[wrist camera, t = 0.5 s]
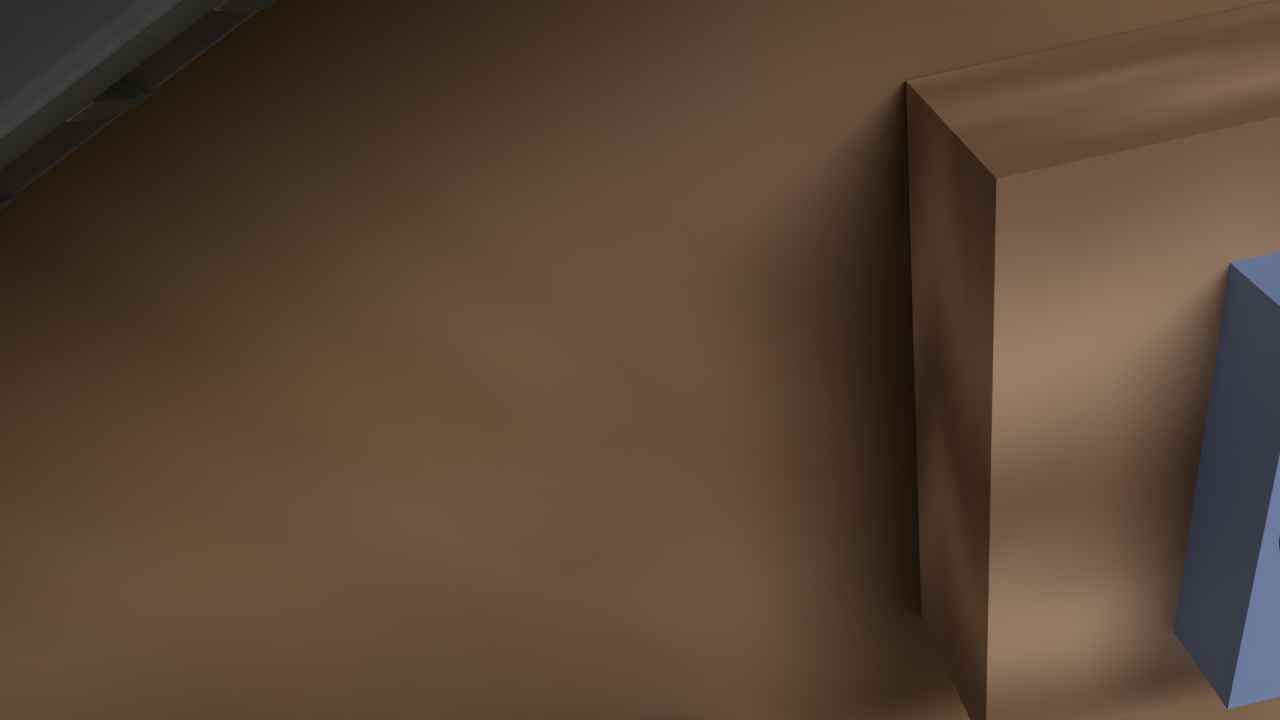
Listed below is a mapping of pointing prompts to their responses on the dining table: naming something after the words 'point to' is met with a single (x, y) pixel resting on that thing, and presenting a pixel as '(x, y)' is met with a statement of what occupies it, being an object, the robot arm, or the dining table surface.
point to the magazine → (91, 69)
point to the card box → (1239, 500)
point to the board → (1078, 348)
